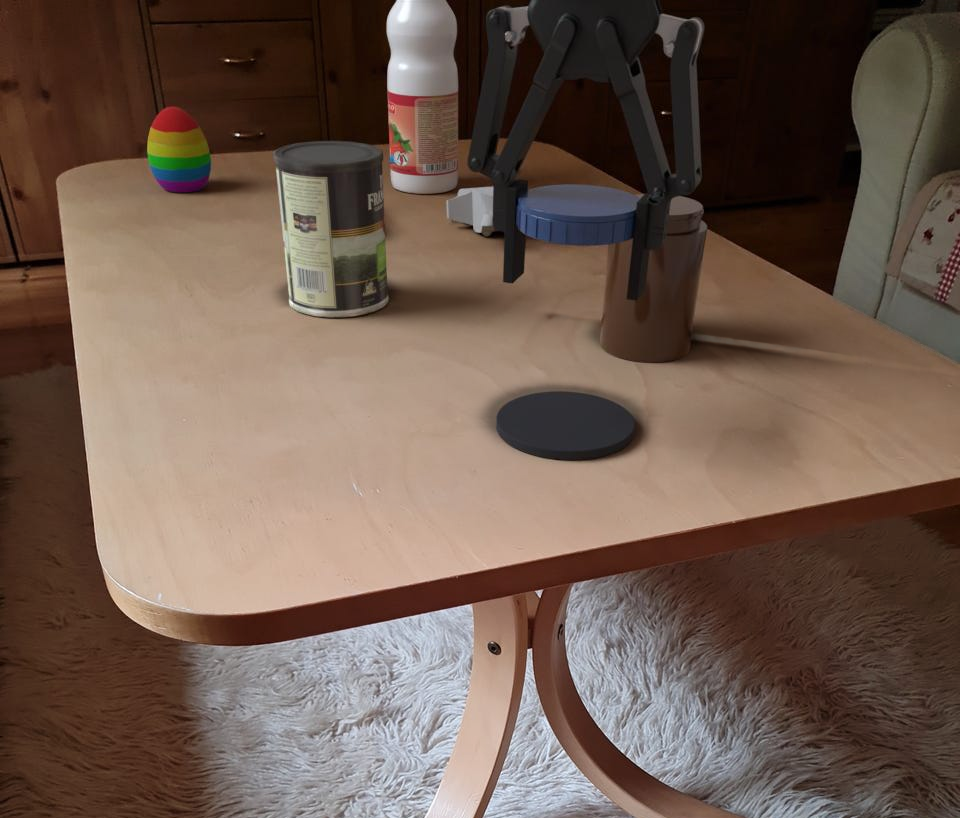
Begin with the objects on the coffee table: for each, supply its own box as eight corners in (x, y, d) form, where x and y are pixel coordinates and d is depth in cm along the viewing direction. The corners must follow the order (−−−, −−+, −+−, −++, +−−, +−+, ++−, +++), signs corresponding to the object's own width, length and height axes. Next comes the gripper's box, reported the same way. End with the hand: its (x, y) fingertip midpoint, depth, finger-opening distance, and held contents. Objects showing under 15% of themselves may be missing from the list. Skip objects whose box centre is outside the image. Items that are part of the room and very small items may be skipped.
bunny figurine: (503, 178, 129) (553, 192, 117) (504, 221, 132) (553, 239, 120) (434, 184, 126) (477, 198, 114) (436, 227, 129) (478, 246, 117)
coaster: (647, 412, 83) (648, 403, 83) (615, 470, 75) (616, 461, 74) (521, 391, 86) (521, 382, 86) (476, 445, 78) (476, 436, 77)
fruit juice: (451, 197, 137) (450, -53, 120) (383, 193, 138) (373, -55, 121) (463, 180, 144) (464, -57, 127) (399, 177, 146) (392, -59, 129)
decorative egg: (143, 186, 139) (128, 105, 133) (196, 177, 143) (185, 99, 137) (170, 198, 134) (156, 115, 128) (225, 189, 138) (214, 108, 132)
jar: (696, 336, 97) (717, 197, 89) (679, 368, 91) (700, 221, 83) (611, 324, 99) (625, 188, 92) (589, 354, 93) (601, 210, 85)
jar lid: (563, 205, 76) (565, 178, 75) (663, 227, 72) (666, 199, 71) (491, 229, 71) (492, 200, 69) (595, 254, 66) (597, 224, 65)
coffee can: (391, 285, 108) (386, 140, 99) (385, 319, 99) (379, 164, 91) (295, 283, 107) (281, 138, 99) (280, 317, 99) (264, 163, 91)
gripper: (412, -103, 60) (418, 281, 74) (777, -91, 54) (710, 323, 68) (458, -104, 65) (456, 253, 79) (792, -93, 60) (728, 289, 74)
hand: (573, 285), depth 74 cm, fingers closed on jar lid, 9 cm apart
